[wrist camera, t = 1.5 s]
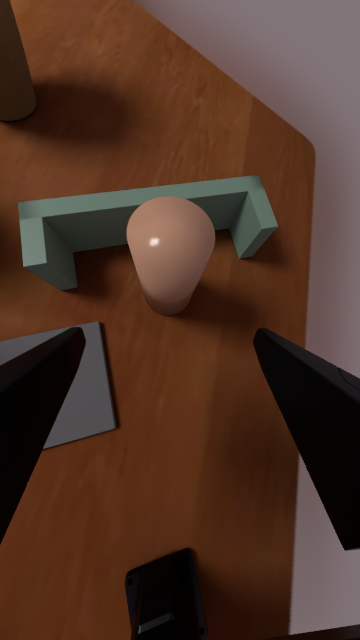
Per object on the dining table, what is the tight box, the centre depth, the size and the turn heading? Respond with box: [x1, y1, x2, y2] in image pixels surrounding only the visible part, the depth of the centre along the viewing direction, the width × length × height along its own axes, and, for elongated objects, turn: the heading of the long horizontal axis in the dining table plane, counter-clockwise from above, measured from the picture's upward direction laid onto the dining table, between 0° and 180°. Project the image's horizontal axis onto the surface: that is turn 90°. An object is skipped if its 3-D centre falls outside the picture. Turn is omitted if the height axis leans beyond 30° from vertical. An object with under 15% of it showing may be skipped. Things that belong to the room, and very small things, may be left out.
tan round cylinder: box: [127, 196, 215, 315], centre depth 18 cm, size 6×6×12 cm
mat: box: [0, 321, 116, 449], centre depth 19 cm, size 12×12×1 cm
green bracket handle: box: [18, 175, 278, 290], centre depth 21 cm, size 7×26×6 cm, turn 103°
